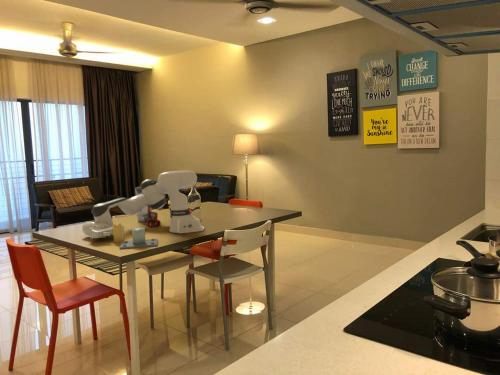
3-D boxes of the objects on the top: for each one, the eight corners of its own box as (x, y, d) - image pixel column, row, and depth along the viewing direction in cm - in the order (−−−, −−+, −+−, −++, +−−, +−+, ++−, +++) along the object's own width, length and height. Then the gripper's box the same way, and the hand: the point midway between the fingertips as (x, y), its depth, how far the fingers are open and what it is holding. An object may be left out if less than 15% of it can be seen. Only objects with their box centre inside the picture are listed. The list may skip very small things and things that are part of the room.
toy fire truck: (153, 224, 291) (153, 209, 290) (162, 226, 281) (161, 211, 280) (144, 225, 286) (143, 211, 285) (152, 228, 277) (151, 213, 276)
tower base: (157, 240, 241) (156, 225, 240) (157, 246, 227) (156, 230, 226) (122, 243, 237) (121, 228, 236) (119, 249, 223) (118, 233, 222)
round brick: (124, 239, 245) (122, 222, 244) (123, 242, 240) (121, 224, 238) (114, 240, 244) (113, 223, 243) (113, 242, 239) (111, 225, 237)
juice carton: (135, 222, 301) (133, 185, 298) (142, 219, 311) (140, 184, 308) (146, 222, 299) (144, 185, 296) (153, 219, 309) (151, 183, 306)
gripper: (116, 231, 258) (130, 234, 251) (87, 239, 241) (102, 241, 234) (115, 222, 258) (130, 223, 250) (87, 228, 241) (101, 230, 233)
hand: (116, 232), depth 242 cm, fingers open, 8 cm apart
